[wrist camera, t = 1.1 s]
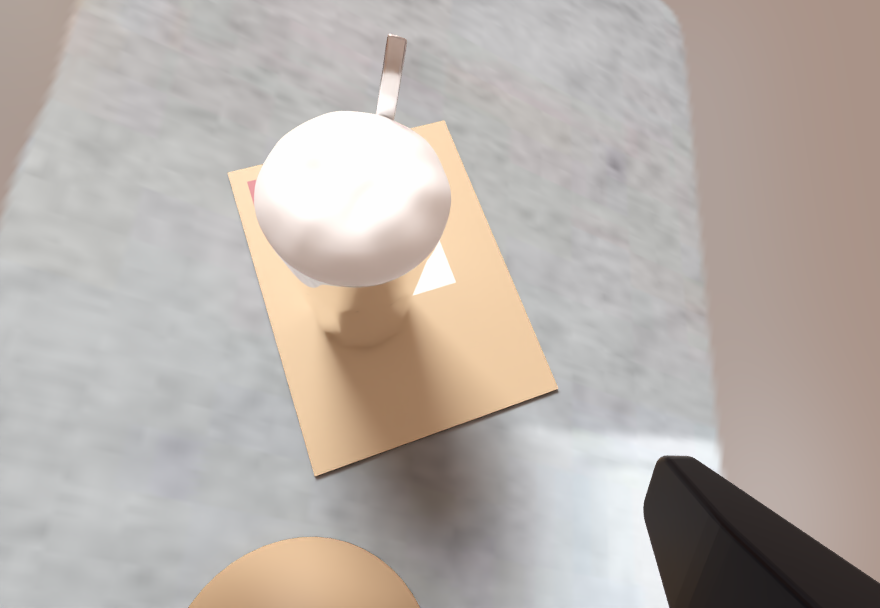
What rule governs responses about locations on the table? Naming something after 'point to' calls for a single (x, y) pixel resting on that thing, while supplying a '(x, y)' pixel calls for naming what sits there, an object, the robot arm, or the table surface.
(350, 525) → the table surface
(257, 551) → the coaster
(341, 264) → the milkshake
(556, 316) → the table surface
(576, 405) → the table surface
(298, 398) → the envelope
